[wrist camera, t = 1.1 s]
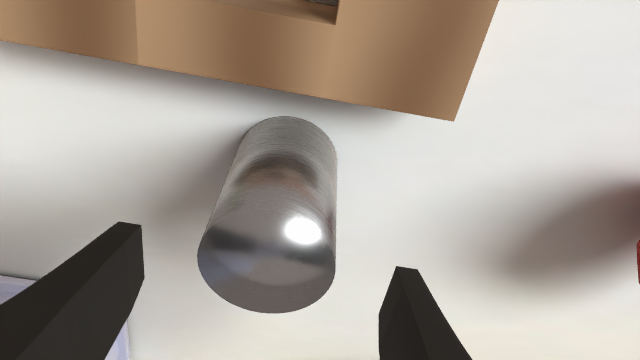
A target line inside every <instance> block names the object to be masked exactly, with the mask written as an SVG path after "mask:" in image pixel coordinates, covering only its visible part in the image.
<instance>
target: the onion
mask: <svg viewBox="0 0 640 360" xmlns="http://www.w3.org/2000/svg"><path fill="white" fill-rule="evenodd" d="M637 265H638V278H639V284H640V240H639V241H638V243H637Z"/></svg>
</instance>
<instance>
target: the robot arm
mask: <svg viewBox="0 0 640 360" xmlns="http://www.w3.org/2000/svg"><path fill="white" fill-rule="evenodd" d="M144 278H145V277H144V261H143V245H142V229H141V225H138V224H132V223H125V222H117V223H116V224H115V225H113V226H112V227H111V228H109V229H108V230H107V231H105V232H104V233H103V234H101V235H100V236H99V237H97V238H96V239H95V240H93V241H92V242H91V243H89V244H88V245H87V246H85V247H84V248H83V249H81V250H80V251H79V252H78V253H76V254H75V255H73V256H72V257H71V258H69V259H68V260H66V261H65V262H64V263H62V264H61V265H60V266H58V267H57V268H55V269H54V270H53V271H51V272H50V273H48V274H47V275H45V276H44V277H42V278H41V279H39V280H38V281H35V280H28V279H21V278H14V277H8V276H1V275H0V360H131V356H130V346H129V336H128V326H127V318H128V316H129V314H130V312H131V310H132V308H133V306H134V303H135V301H136V298H137V296H138V293H139V291H140V288H141V286H142V283H143V280H144ZM379 355H380V360H472V358H471V357H470V356H469V354H468V353H467V351H466V350H465V348H464V347H463V345H462V344H461V342H460V341H459V339H458V338H457V336H456V334H455V333H454V331H453V330H452V328H451V326H450V325H449V323H448V322H447V320H446V318H445V317H444V315H443V313H442V312H441V310H440V308H439V307H438V305H437V303H436V301H435V300H434V298H433V296H432V294H431V293H430V291H429V289H428V287H427V285H426V284H425V282H424V280H423V278H422V276H421V275H420V273H419V271H418V270H417V269H411V268H405V267H399V266H396V268H395V271H394V274H393V277H392V279H391V282H390V285H389V287H388V290H387V293H386V296H385V298H384V301H383V304H382V306H381V309H380V312H379Z"/></svg>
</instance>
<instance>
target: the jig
mask: <svg viewBox="0 0 640 360" xmlns="http://www.w3.org/2000/svg"><path fill="white" fill-rule="evenodd" d="M498 1H499V0H337V6H330V5H325V4H320V3H315V2H310V1H304V0H0V40H2V41H8V42H13V43H19V44H24V45H30V46H36V47H41V48H47V49H52V50H58V51H64V52H69V53H75V54H80V55H86V56H91V57H97V58H103V59H108V60H114V61H119V62H125V63H130V64H136V65H142V66H147V67H153V68H158V69H164V70H169V71H175V72H181V73H186V74H192V75H197V76H203V77H208V78H214V79H220V80H225V81H231V82H236V83H242V84H247V85H253V86H259V87H264V88H270V89H275V90H281V91H287V92H292V93H298V94H303V95H309V96H314V97H320V98H326V99H331V100H337V101H342V102H348V103H353V104H359V105H365V106H370V107H376V108H381V109H387V110H392V111H398V112H404V113H409V114H415V115H420V116H426V117H431V118H437V119H443V120H448V121H454V120H455V117H456V114H457V112H458V109H459V106H460V103H461V101H462V98H463V95H464V93H465V90H466V87H467V85H468V82H469V79H470V77H471V74H472V71H473V69H474V66H475V63H476V60H477V58H478V55H479V52H480V50H481V47H482V44H483V42H484V39H485V36H486V34H487V31H488V28H489V26H490V23H491V20H492V17H493V15H494V12H495V9H496V7H497V4H498Z"/></svg>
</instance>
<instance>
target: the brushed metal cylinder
mask: <svg viewBox="0 0 640 360" xmlns="http://www.w3.org/2000/svg"><path fill="white" fill-rule="evenodd" d="M336 201H337V155H336V151H335V148H334V146H333V144H332V142H331V140H330V139H329V137H328V136H327V135H326V134H325V133H324V132H323V131H322V130H321V129H320V128H319V127H317V126H316V125H314V124H312V123H310V122H308V121H306V120H303V119H300V118H296V117H289V116H280V117H273V118H269V119H266V120H264V121H261V122H260V123H258V124H256V125H255V126H253V127H252V128H251V129H250V130H249V131H248V132H247V133H246V135H245V136H244V137H243V139H242V141H241V144H240V146H239V148H238V151H237V153H236V156H235V158H234V161H233V163H232V166H231V168H230V171H229V173H228V176H227V178H226V181H225V183H224V185H223V188H222V190H221V193H220V195H219V198H218V200H217V203H216V205H215V208H214V210H213V213H212V215H211V217H210V220H209V222H208V225H207V227H206V230H205V232H204V235H203V237H202V240H201V242H200V245H199V248H198V255H197V258H198V266H199V270H200V272H201V274H202V276H203V278H204V280H205V282H206V283H207V284H208V285H209V287H210V288H211V289H212V290H213V291H214V292H215V293H216V294H218V295H219V296H220V297H222V298H223V299H225V300H226V301H228V302H230V303H232V304H234V305H236V306H238V307H241V308H244V309H247V310H250V311H255V312H261V313H286V312H292V311H296V310H299V309H302V308H305V307H307V306H309V305H311V304H313V303H314V302H316V301H317V300H319V299H320V298H321V297H322V296H323V295H324V294H325V293H326V292H327V291H328V289H329V288H330V286H331V284H332V282H333V279H334V275H335V259H336Z"/></svg>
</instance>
